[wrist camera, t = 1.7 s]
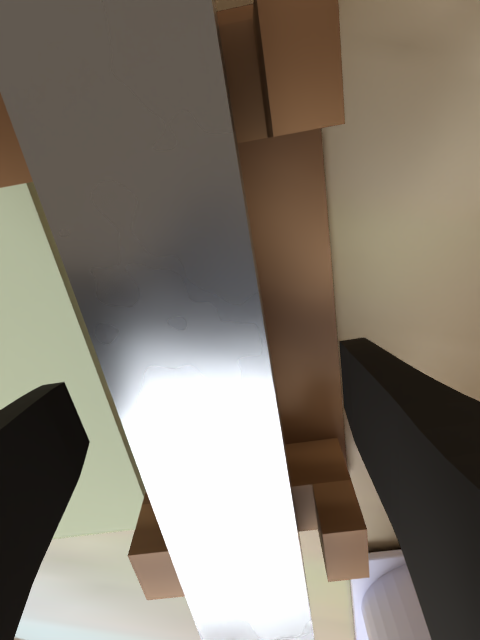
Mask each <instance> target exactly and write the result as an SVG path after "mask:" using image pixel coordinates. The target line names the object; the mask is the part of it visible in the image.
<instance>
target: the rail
mask: <svg viewBox="0 0 480 640" xmlns="http://www.w3.org/2000/svg"><path fill="white" fill-rule="evenodd" d="M0 93H1V96H2V98H3V101H4V104H5V106H6V109H7V112H8V115H9V117H10V120H11V123H12V126H13V128H14V131H15V134H16V136H17V139H18V142H19V145H20V147H21V150H22V153H23V156H24V158H25V161H26V164H27V166H28V169H29V172H30V175H31V177H32V180H33V183H34V186H35V188H36V191H37V194H38V196H39V199H40V202H41V205H42V207H43V210H44V213H45V216H46V218H47V221H48V224H49V226H50V229H51V232H52V235H53V237H54V240H55V243H56V245H57V248H58V251H59V254H60V256H61V259H62V262H63V265H64V267H65V270H66V273H67V275H68V278H69V281H70V284H71V286H72V289H73V292H74V295H75V297H76V300H77V303H78V305H79V308H80V311H81V314H82V316H83V319H84V322H85V325H86V327H87V330H88V333H89V335H90V338H91V341H92V344H93V346H94V349H95V352H96V355H97V357H98V360H99V363H100V365H101V368H102V371H103V374H104V376H105V379H106V382H107V385H108V387H109V390H110V393H111V395H112V398H113V401H114V404H115V406H116V409H117V412H118V415H119V417H120V420H121V423H122V425H123V428H124V431H125V434H126V436H127V439H128V442H129V445H130V447H131V450H132V453H133V455H134V458H135V461H136V464H137V466H138V469H139V472H140V475H141V477H142V480H143V483H144V485H145V488H146V491H147V494H148V496H149V499H150V502H151V505H152V507H153V510H154V513H155V515H156V518H157V521H158V524H159V526H160V529H161V532H162V535H163V537H164V540H165V543H166V545H167V548H168V551H169V554H170V556H171V559H172V562H173V564H174V567H175V570H176V573H177V575H178V578H179V581H180V584H181V586H182V589H183V592H184V594H185V597H186V600H187V603H188V605H189V608H190V611H191V614H192V616H193V619H194V622H195V624H196V627H197V630H198V633H199V635H200V638H201V640H315V639H314V632H313V625H312V618H311V611H310V604H309V597H308V590H307V584H306V577H305V570H304V563H303V556H302V549H301V542H300V536H299V530H298V523H297V517H296V511H295V505H294V498H293V492H292V486H291V479H290V473H289V467H288V460H287V454H286V448H285V441H284V435H283V429H282V422H281V416H280V410H279V403H278V397H277V391H276V384H275V378H274V372H273V365H272V359H271V353H270V346H269V340H268V334H267V327H266V321H265V315H264V308H263V302H262V296H261V290H260V283H259V277H258V271H257V264H256V258H255V252H254V245H253V239H252V233H251V226H250V220H249V214H248V207H247V201H246V195H245V188H244V182H243V176H242V169H241V163H240V157H239V150H238V144H237V138H236V131H235V125H234V119H233V112H232V106H231V100H230V93H229V87H228V81H227V75H226V68H225V62H224V56H223V49H222V43H221V37H220V30H219V24H218V18H217V11H216V5H215V0H0Z"/></svg>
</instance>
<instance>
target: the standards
mask: <svg viewBox="0 0 480 640" xmlns="http://www.w3.org/2000/svg"><path fill="white" fill-rule="evenodd" d="M217 18H218V24H219V30H220V37H221V43H222V49H223V56H224V62H225V68H226V75H227V81H228V87H229V93H230V100H231V106H232V112H233V119H234V125H235V131H236V138H237V144H238V150H239V157H240V163H241V169H242V176H243V182H244V188H245V195H246V201H247V207H248V214H249V220H250V226H251V233H252V239H253V245H254V252H255V258H256V264H257V271H258V277H259V283H260V290H261V296H262V302H263V308H264V315H265V321H266V327H267V334H268V340H269V346H270V353H271V359H272V365H273V372H274V378H275V384H276V391H277V397H278V403H279V410H280V416H281V422H282V429H283V435H284V441H285V448H286V454H287V460H288V467H289V473H290V479H291V486H292V492H293V498H294V505H295V511H296V517H297V523H298V530H299V531H308V530H316V529H318V532H319V537H320V542H321V547H322V552H323V557H324V563H325V568H326V573H327V578H328V582H331V581H341V580H351V579H361V578H370V576H369V557H368V539H367V528H366V525H365V522H364V519H363V515H362V512H361V509H360V506H359V503H358V500H357V497H356V494H355V491H354V487H353V484H352V481H351V478H350V475H349V472H348V469H347V458H346V445H345V432H344V419H343V406H342V393H341V380H340V367H339V354H338V341H337V328H336V315H335V302H334V289H333V276H332V263H331V250H330V237H329V224H328V211H327V198H326V185H325V172H324V159H323V146H322V133H321V128H324V127H329V126H335V125H340V124H345V116H344V98H343V79H342V61H341V42H340V24H339V6H338V0H254V4H250V5H246V6H241V7H236V8H231V9H227V10H222V11H217ZM30 182H33V180H32V177H31V175H30V172H29V169H28V166H27V164H26V161H25V158H24V156H23V153H22V150H21V147H20V145H19V142H18V139H17V136H16V134H15V131H14V128H13V126H12V123H11V120H10V117H9V115H8V112H7V109H6V106H5V104H4V101H3V98H2V96H1V93H0V188H3V187H8V186H14V185H19V184H24V183H30ZM128 557H129V560H130V562H131V564H132V567H133V569H134V571H135V573H136V576H137V578H138V580H139V583H140V585H141V587H142V590H143V592H144V594H145V597H146V599H147V600H153V599H163V598H173V597H183V596H185V594H184V592H183V589H182V586H181V584H180V581H179V578H178V575H177V573H176V570H175V567H174V564H173V562H172V559H171V556H170V554H169V551H168V548H167V545H166V543H165V540H164V537H163V535H162V532H161V529H160V526H159V524H158V521H157V518H156V515H155V513H154V510H153V507H152V505H151V502H150V499H149V496H148V494H147V491H146V492H145V495H144V499H143V503H142V506H141V510H140V514H139V517H138V521H137V524H136V528H135V532H134V535H133V539H132V543H131V546H130V550H129V553H128Z"/></svg>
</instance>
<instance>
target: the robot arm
mask: <svg viewBox="0 0 480 640" xmlns="http://www.w3.org/2000/svg"><path fill="white" fill-rule="evenodd" d="M339 342H340V355H341V369H342V382H343V396H344V408H345V411H346V415H347V418H348V422H349V425H350V428H351V431H352V435H353V438H354V441H355V444H356V446H357V448H358V451H359V453H360V455H361V457H362V460H363V462H364V464H365V466H366V469H367V471H368V473H369V475H370V477H371V480H372V482H373V484H374V486H375V489H376V491H377V493H378V495H379V498H380V500H381V502H382V504H383V506H384V509H385V511H386V513H387V515H388V518H389V520H390V522H391V524H392V527H393V529H394V532H395V534H396V537H397V539H398V542H399V544H400V547H401V549H400V550H390V551H381V552H371V553H368V557H369V576H370V578H361V579H351V580H350V584H351V595H352V607H353V618H354V630H355V640H480V402H479V401H477V400H475V399H473V398H470V397H468V396H466V395H464V394H462V393H460V392H458V391H456V390H454V389H452V388H450V387H448V386H446V385H444V384H442V383H440V382H438V381H436V380H435V379H433V378H431V377H429V376H427V375H425V374H424V373H422V372H420V371H418V370H417V369H415V368H413V367H412V366H410V365H408V364H406V363H405V362H403V361H402V360H400V359H398V358H397V357H395V356H393V355H392V354H390V353H389V352H387V351H385V350H384V349H382V348H381V347H379V346H377V345H376V344H374V343H373V342H371V341H369V340H368V339H366V338H358V339H352V340H345V341H339ZM89 443H90V441H89V439H88V436H87V434H86V432H85V429H84V427H83V425H82V422H81V420H80V417H79V415H78V413H77V410H76V408H75V406H74V403H73V401H72V399H71V396H70V394H69V391H68V389H67V387H66V384H65V382H60V383H53V384H46V385H42V386H40V387H38V388H36V389H34V390H32V391H30V392H28V393H27V394H25V395H23V396H21V397H20V398H18V399H17V400H15V401H13V402H12V403H10V404H9V405H7V406H6V407H4V408H3V409H1V410H0V640H14V637H15V634H16V631H17V628H18V625H19V622H20V619H21V616H22V613H23V610H24V607H25V604H26V602H27V599H28V596H29V593H30V590H31V587H32V584H33V582H34V579H35V577H36V575H37V572H38V570H39V567H40V565H41V562H42V560H43V558H44V556H45V554H46V551H47V549H48V547H49V545H50V543H51V540H52V538H53V536H54V534H55V532H56V530H57V527H58V525H59V523H60V521H61V519H62V516H63V514H64V512H65V510H66V508H67V505H68V503H69V501H70V499H71V496H72V494H73V492H74V490H75V487H76V485H77V483H78V480H79V478H80V475H81V472H82V468H83V465H84V462H85V458H86V455H87V451H88V447H89Z"/></svg>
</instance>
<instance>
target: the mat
mask: <svg viewBox="0 0 480 640" xmlns="http://www.w3.org/2000/svg"><path fill="white" fill-rule="evenodd" d="M60 382H65V384H66V387H67V389H68V391H69V394H70V396H71V399H72V401H73V403H74V406H75V408H76V410H77V413H78V415H79V417H80V420H81V422H82V425H83V427H84V429H85V432H86V434H87V436H88V439H89V441H90V443H89V447H88V451H87V455H86V458H85V462H84V465H83V468H82V472H81V475H80V478H79V480H78V483H77V485H76V487H75V490H74V492H73V494H72V496H71V499H70V501H69V503H68V505H67V508H66V510H65V512H64V514H63V516H62V519H61V521H60V523H59V525H58V527H57V530H56V532H55V534H54V536H53V538H52V539H59V538H68V537H77V536H85V535H94V534H103V533H111V532H120V531H129V530H135V528H136V524H137V521H138V517H139V514H140V510H141V506H142V503H143V499H144V495H145V492H146V488H145V485H144V483H143V480H142V477H141V475H140V472H139V469H138V466H137V464H136V461H135V458H134V455H133V453H132V450H131V447H130V445H129V442H128V439H127V436H126V434H125V431H124V428H123V425H122V423H121V420H120V417H119V415H118V412H117V409H116V406H115V404H114V401H113V398H112V395H111V393H110V390H109V387H108V385H107V382H106V379H105V376H104V374H103V371H102V368H101V365H100V363H99V360H98V357H97V355H96V352H95V349H94V346H93V344H92V341H91V338H90V335H89V333H88V330H87V327H86V325H85V322H84V319H83V316H82V314H81V311H80V308H79V305H78V303H77V300H76V297H75V295H74V292H73V289H72V286H71V284H70V281H69V278H68V275H67V273H66V270H65V267H64V265H63V262H62V259H61V256H60V254H59V251H58V248H57V245H56V243H55V240H54V237H53V235H52V232H51V229H50V226H49V224H48V221H47V218H46V216H45V213H44V210H43V207H42V205H41V202H40V199H39V196H38V194H37V191H36V188H35V186H34V183H33V182H30V183H24V184H19V185H14V186H8V187H3V188H0V410H1V409H3V408H4V407H6V406H7V405H9V404H10V403H12V402H13V401H15V400H17V399H18V398H20V397H21V396H23V395H25V394H27V393H28V392H30V391H32V390H34V389H36V388H38V387H40V386H42V385H46V384H53V383H60Z"/></svg>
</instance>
